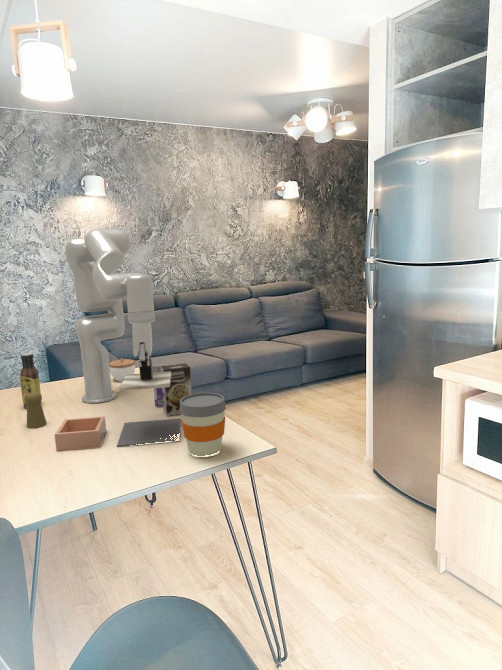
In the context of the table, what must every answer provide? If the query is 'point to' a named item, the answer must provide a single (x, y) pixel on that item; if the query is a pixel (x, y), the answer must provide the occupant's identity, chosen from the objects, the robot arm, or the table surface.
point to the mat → (149, 432)
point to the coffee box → (176, 388)
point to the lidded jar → (121, 368)
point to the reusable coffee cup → (203, 422)
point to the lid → (146, 380)
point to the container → (158, 391)
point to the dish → (80, 433)
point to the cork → (34, 410)
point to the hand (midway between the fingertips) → (146, 376)
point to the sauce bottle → (28, 376)
